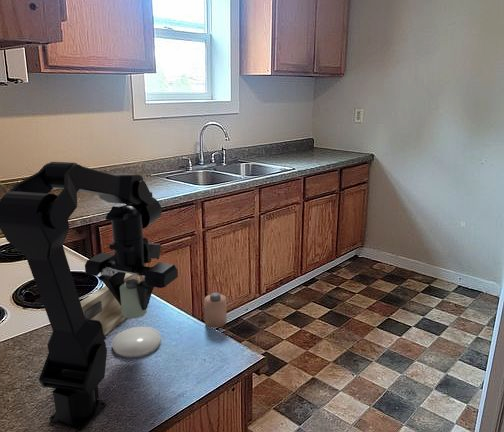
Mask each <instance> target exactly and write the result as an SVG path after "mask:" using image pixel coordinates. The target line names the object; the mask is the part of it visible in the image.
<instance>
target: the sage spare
mask: <svg viewBox="0 0 504 432" xmlns="http://www.w3.org/2000/svg"><path fill="white" fill-rule="evenodd" d="M139 283H140V281H138V280H136V279H131V280H128V281H126V283H124V284H122V285H121V286H120V297H121V308H122V316H123V317H125V318H126V319H129V320H130V319H138V318H141V317H143V316H145V315H146V314H147V310H148V308H147V309H146V310H142V307H141V304H140V300H139V296H138V291H137V287H136V285H137V284H139Z"/></svg>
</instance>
